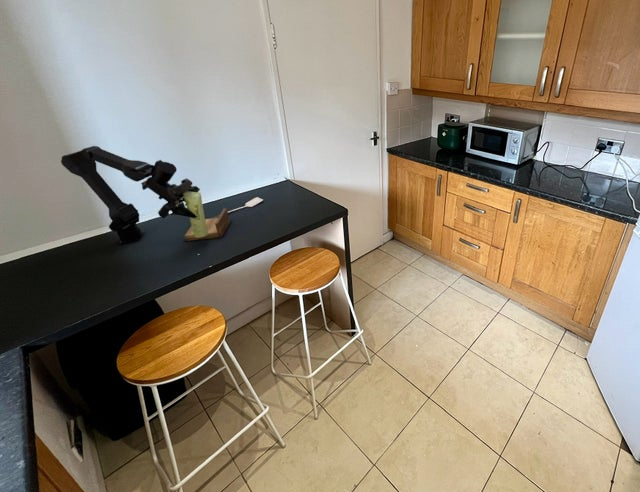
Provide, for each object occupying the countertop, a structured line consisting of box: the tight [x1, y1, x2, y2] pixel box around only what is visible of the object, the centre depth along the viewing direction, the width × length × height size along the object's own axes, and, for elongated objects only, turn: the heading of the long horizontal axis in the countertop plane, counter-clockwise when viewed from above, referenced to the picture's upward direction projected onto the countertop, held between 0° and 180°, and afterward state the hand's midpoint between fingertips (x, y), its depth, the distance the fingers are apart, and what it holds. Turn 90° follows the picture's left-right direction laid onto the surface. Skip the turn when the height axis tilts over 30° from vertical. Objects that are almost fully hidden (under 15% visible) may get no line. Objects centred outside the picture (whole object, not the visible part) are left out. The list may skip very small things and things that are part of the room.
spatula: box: [210, 196, 264, 219], centre depth 156 cm, size 6×29×2 cm, turn 145°
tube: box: [183, 191, 208, 238], centre depth 125 cm, size 6×5×20 cm
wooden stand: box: [184, 207, 231, 242], centre depth 138 cm, size 14×14×7 cm
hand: (199, 214), depth 126 cm, fingers closed on tube, 4 cm apart
